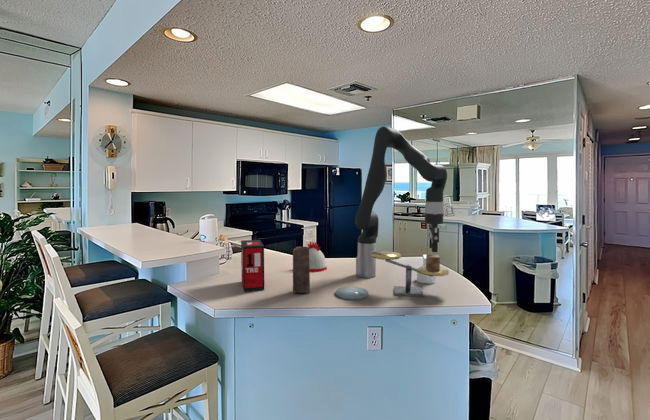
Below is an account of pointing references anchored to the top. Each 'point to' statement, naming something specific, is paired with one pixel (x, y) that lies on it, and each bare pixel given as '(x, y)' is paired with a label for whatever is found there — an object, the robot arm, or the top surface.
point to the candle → (301, 270)
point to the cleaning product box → (252, 265)
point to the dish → (352, 293)
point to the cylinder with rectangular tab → (425, 278)
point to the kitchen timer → (316, 258)
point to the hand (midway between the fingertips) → (433, 250)
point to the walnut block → (433, 263)
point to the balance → (407, 273)
